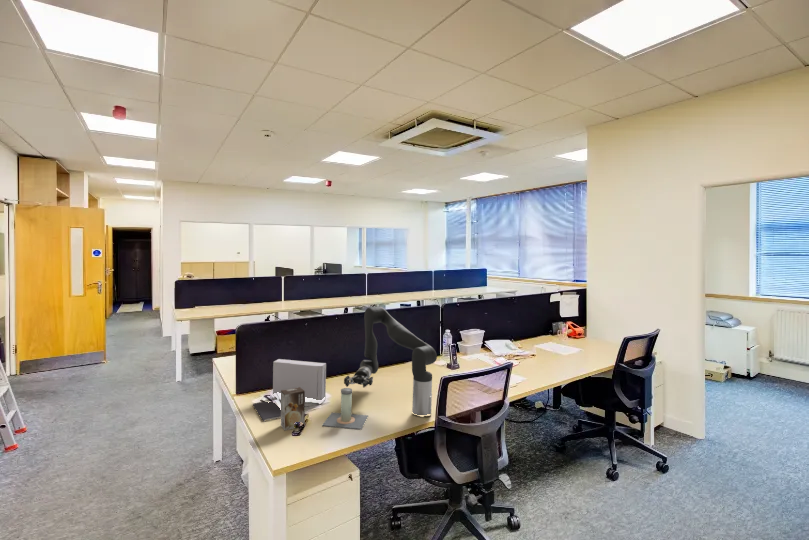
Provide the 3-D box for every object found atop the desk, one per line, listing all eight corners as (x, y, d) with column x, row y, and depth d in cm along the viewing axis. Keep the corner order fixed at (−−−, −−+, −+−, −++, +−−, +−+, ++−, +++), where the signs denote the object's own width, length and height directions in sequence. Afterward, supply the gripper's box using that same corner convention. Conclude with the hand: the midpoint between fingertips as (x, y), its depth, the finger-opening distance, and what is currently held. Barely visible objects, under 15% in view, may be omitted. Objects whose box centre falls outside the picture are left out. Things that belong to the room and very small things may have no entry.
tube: (352, 417, 179) (353, 388, 179) (349, 422, 174) (350, 392, 174) (342, 416, 180) (342, 387, 180) (338, 421, 175) (339, 391, 174)
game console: (320, 404, 195) (321, 366, 194) (272, 399, 200) (273, 361, 200) (325, 400, 201) (326, 363, 200) (278, 395, 206) (278, 358, 205)
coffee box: (300, 420, 176) (300, 386, 175) (304, 426, 171) (305, 390, 170) (280, 425, 171) (280, 389, 170) (284, 431, 166) (284, 394, 165)
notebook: (252, 406, 192) (263, 422, 174) (252, 403, 192) (263, 419, 174) (278, 401, 199) (291, 416, 181) (278, 398, 199) (291, 413, 181)
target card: (368, 416, 183) (368, 415, 183) (361, 429, 169) (361, 428, 169) (331, 413, 185) (331, 412, 185) (322, 426, 171) (322, 424, 171)
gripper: (349, 367, 205) (341, 376, 189) (375, 368, 204) (369, 378, 188) (349, 381, 206) (341, 391, 190) (375, 382, 204) (369, 393, 188)
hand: (355, 385), depth 189 cm, fingers open, 8 cm apart
